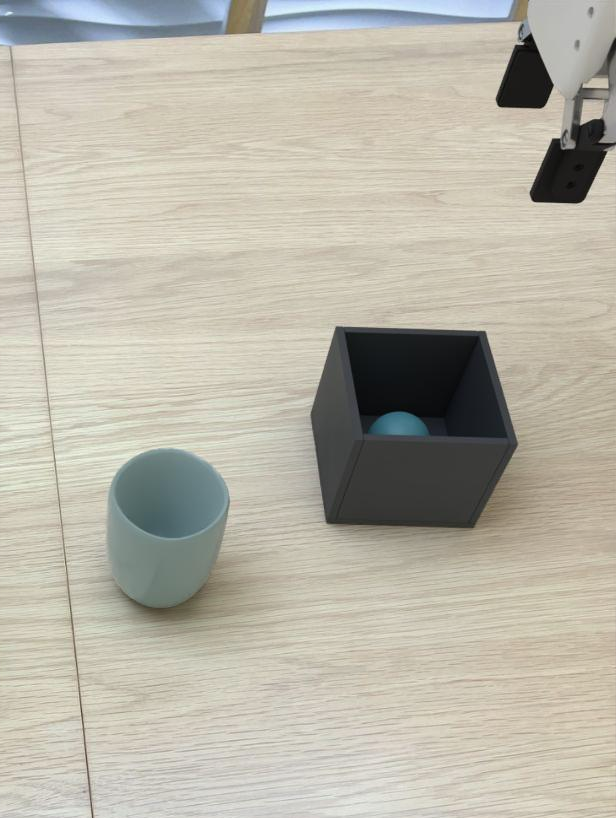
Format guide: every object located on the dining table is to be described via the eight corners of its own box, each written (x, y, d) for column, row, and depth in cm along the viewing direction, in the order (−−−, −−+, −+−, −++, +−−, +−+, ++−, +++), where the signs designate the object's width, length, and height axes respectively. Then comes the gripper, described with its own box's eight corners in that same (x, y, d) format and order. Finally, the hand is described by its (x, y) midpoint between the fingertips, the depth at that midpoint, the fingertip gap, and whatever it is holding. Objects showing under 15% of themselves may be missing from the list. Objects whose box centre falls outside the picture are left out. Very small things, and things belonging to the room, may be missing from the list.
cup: (81, 571, 79) (85, 485, 71) (160, 517, 82) (172, 429, 74) (153, 643, 76) (166, 561, 68) (232, 584, 79) (254, 499, 71)
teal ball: (415, 441, 87) (432, 399, 83) (425, 488, 84) (443, 447, 80) (355, 439, 87) (369, 397, 83) (363, 486, 84) (378, 445, 80)
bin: (447, 417, 89) (485, 330, 81) (474, 528, 82) (518, 444, 75) (310, 413, 89) (335, 325, 81) (325, 523, 82) (355, 439, 75)
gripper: (800, -63, 49) (635, 243, 63) (683, -218, 59) (562, 75, 73) (635, -68, 49) (505, 239, 63) (545, -222, 59) (451, 71, 73)
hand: (536, 151), depth 68 cm, fingers open, 9 cm apart
